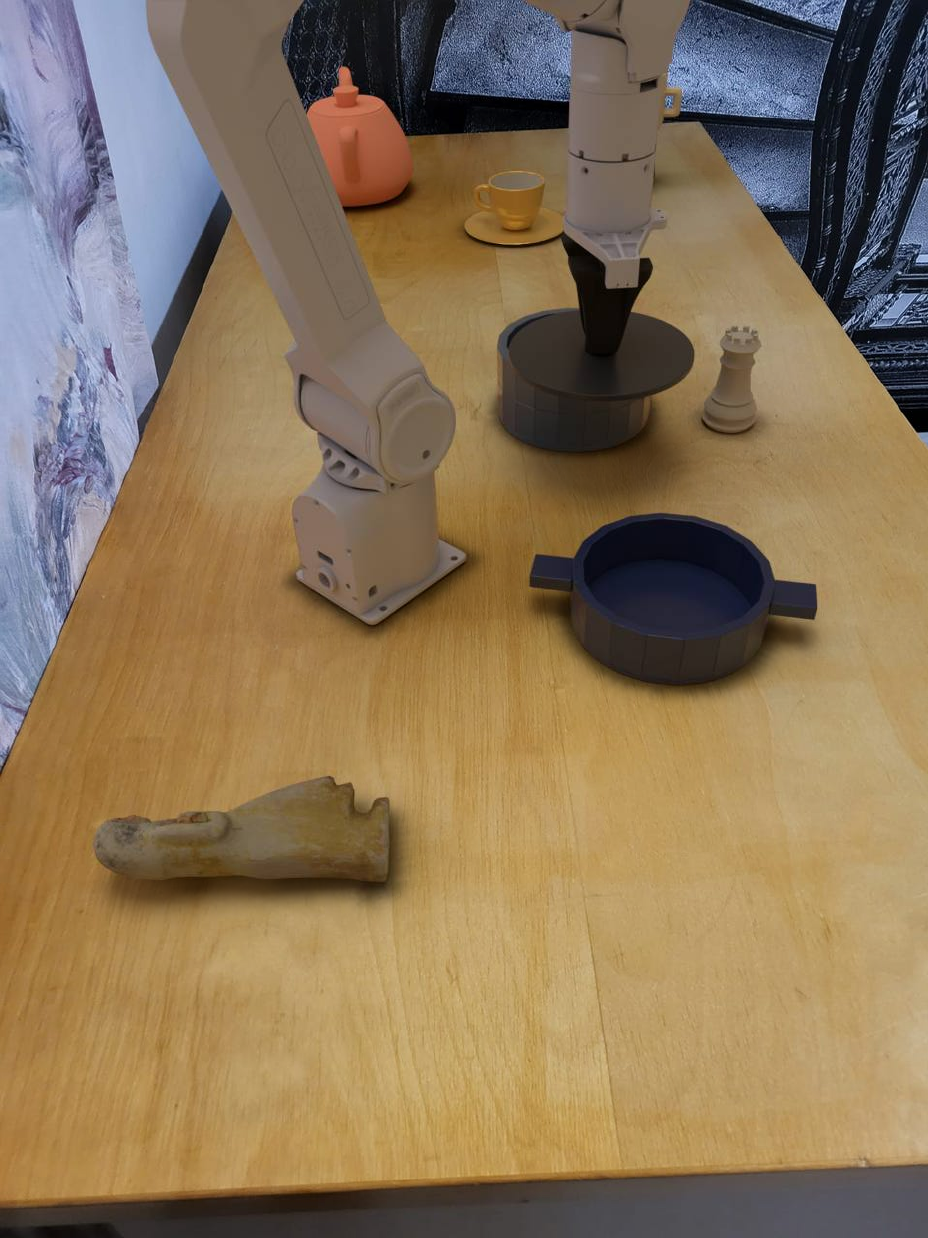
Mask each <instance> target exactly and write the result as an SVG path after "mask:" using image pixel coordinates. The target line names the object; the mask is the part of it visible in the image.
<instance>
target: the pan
mask: <svg viewBox="0 0 928 1238" xmlns="http://www.w3.org/2000/svg"><path fill="white" fill-rule="evenodd" d="M528 582H529V583H528V585H529V587H530V588H533V589H542V590H551V591H560V592H566V593H567V592H568V593H570V599H569V602H570V604H569V605H570V622H571V625H572V629H573V632H574V635H576V638H577V640H578V641H579V642H580V644H581V645H582V646H583V648H584V649H585V650H586V651H587V652H588V653H589V654H590V655H591V656H592V657H593V658H594V659H596V660H597V661H598V662H600V663H602V664H603V665H605V666H606V667H608V668H609V669H611V670H613V671H615V672H617V673H620V674H622V675H624V676H627V677H630V678H632V679H636V680H639V681H643V682H648V683H654V684H660V685H672V686H682V685H683V686H685V685H686V686H687V685H696V684H702V683H707V682H713V681H715V680H719V679H721V678H723V677H726V676H728V675H730V674H733V673H735V672H736V671H738V670H739V669H741V668H742V667H744V666H745V665H746V664H747V663H749V662H750V661H751V660H752V658H753V657H754V656H755V655H756V654H757V652H758V651H759V648H760V647H761V645H762V642H763V639H764V635H765V631H766V628H767V625H768V620H769V616H774V617H775V616H777V617H783V618H794V619H802V620H811V621H815V620H816V616H817V613H818V593H817V592H818V591H817V584H816V583H809V582H800V581H791V580H781V579H775V576H774V573H773V569H772V565H771V562H770V560H769V559H768V558H767V557H766V556H765V554H764V553H763V552H762V551H761V550H760V548H758V546H757V545H756V544H755V543H754V542H753V541H752V540H751V539H749V538H748V537H746V536H744V535H742V534H741V533H739V532H738V531H736V530H734V529H733V528H731V527H729V526H728V525H725V524H722V523H719V522H716V521H712V520H709V519H707V518H703V517H699V516H696V515H689V514H678V513H669V512H654V513H653V512H652V513H644V514H635V515H629V516H626V517H624V518H620V519H617V520H615V521H612V522H609V523H607V524H604V525H602V526H601V527H599V528H598V529H597V530H595V531H594V532H593V533H591V534H589V536H587V537H586V538H585V539H583V541H581V544H580V545H579V547H578V549H577V551H576V553H575V554H574V556H573V557H567V556H559V555H558V556H557V555H549V554H541V553H540V554H538V553H536V554H535V555H534V559H533V561H532V566H531V569H530V573H529V581H528Z"/></svg>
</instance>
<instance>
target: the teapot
mask: <svg viewBox="0 0 928 1238" xmlns="http://www.w3.org/2000/svg"><path fill="white" fill-rule="evenodd" d="M332 92H333V96H328V97H325V98H324V97H323V98H321V99H318V100H316V101H315V102H313V103H312V104H311V105H310V106H309V108H308V110H307V112H306V115H307V117H308V120H309V123H310V125H311V128H312V130H313V133H314V135H315V138H316V141H317V143H318V146H319V148H320V151H321V154H322V156H323V159H324V161H325V164H326V166H327V169H328V172H329V174H330V177H331V179H332V182H333V184H334V187H335V190H336V192H337V195H338V197H339V200H340V202H341V205H342V207H362V206H363V207H364V206H371V205H376V204H381V203H385V202H387V201H391V200H393V199H394V198H396V197H398V196H399V195H400V194H402V192H404V189H405V188H406V187H407V185H408V184H409V183H410V181H411V179H412V176H413V173H414V160H413V157H412V152H411V147H410V145H409V141H408V139H407V136H406V134H405V132H404V131H403V129H402V127H401V125H400V124H399V123H400V122H398V119H397V118H396V117H395V115H394V114H393V112H392V111H391V108H390V107H388V105H387V104H386V102H385V101H384V100H382V99H381V98H379V97H377V96H374V95H368V94H359V87H357V86H355V85H354V84H353V79H352V75H351V70H350V68H348V67H347V66H340V68H339V70H338V86H336V87H334V88H333V89H332Z"/></svg>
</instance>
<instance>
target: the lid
mask: <svg viewBox="0 0 928 1238" xmlns="http://www.w3.org/2000/svg"><path fill="white" fill-rule="evenodd" d="M695 358H696V357H695V348H694V344H693V343H692V341H691V340H690V338H689V337H688V336H687V335H686V334H685V333H684V332H683V331H682V330H680V329H679V328H678V327H676V326H674V325H673V324H671V323H668V322H667V321H665V320H662V319H661V318H657V317H655V316H651V315H648V314H644V313H639V312H634V311H631V312H630V315H629V318H628V322H627V325H626V328H625V332H624V335H623V338H622V341H621V344H620V347H619V349H618V351H617V352H616V353H598V354H591V353H590V352H589V348H588V345H587V340H586V335H585V334H584V330H583V327H582V323H581V317H580V311H579V310H575V311H568V312H563V313H558V314H554V315H550V316H547V317H544V318H541V319H539V320H537V321H534V322H532V323H530V324H529V325H527V326H525V327H524V328H523V329H521V330H520V331H519V332H518V333H517V334H516V335H515V336H514V337H513V339H512V341H511V343H510V346H509V362H510V365H511V367H512V369H513V370H514V372H515V373H516V374H517V375H518V376H519V377H520V378H521V379H522V380H524V381H525V382H526V383H528V384H530V385H531V386H533V387H535V388H537V389H540V390H542V391H544V392H547V393H550V394H553V395H557V396H561V397H565V398H570V399H575V400H584V401H598V402H609V401H625V400H632V399H638V398H643V397H647V396H654V395H657V394H661V393H662V392H665V391H667V390H670V389H671V388H673V387H674V386H676V385H678V384H680V383H681V382H682V381H683V380H684V379H685V378H686V377H687V376H688V375H689V374H690V373H691V370H692V369H693V366H694V362H695Z"/></svg>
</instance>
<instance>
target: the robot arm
mask: <svg viewBox="0 0 928 1238" xmlns="http://www.w3.org/2000/svg"><path fill="white" fill-rule="evenodd" d="M521 1H522V2H524V3H527V4H528V5H531V6H532V7H535V8H537V9H538V10H541V11H543V12H545V13H548V14H550V15H551V16H553V17H554V19H555V21H556V23H557V25H558V27H559V28H560V29H561V30H562V31H563V33H569V32H571V40H570V41H571V46H570V76H569V77H570V78H569V80H570V81H569V104H568V105H569V107H568V135H567V136H568V137H567V141H568V142H567V167H566V194H565V195H566V196H565V197H566V198H565V212H564V213H563V215H562V216H563V232H564V233H562V234H561V236H560V239H561V243H562V247H563V249H564V251H565V252H566V256H567V264H568V268H569V272H570V274H571V276H572V279H573V281H574V282H575V283H574V284H575V286H576V293H577V302H578V308H579V311H580V317H581V323H582V327H583V330H584V334H585V335H586V340H587V345H588V348H589V352H590V353H591V354H598V353H616V352H617V351H618V349H619V347H620V344H621V341H622V338H623V335H624V332H625V328H626V325H627V322H628V318H629V315H630V312H632V309H633V307H634V305H635V302H636V300H637V299H638V296H639V295H640V293H641V291H642V290H643V288H644V287H645V285H646V284H647V283H648V281H649V280H650V279H651V276H652V273H653V270H654V265H653V263H652V260H651V258H650V257H640V255H641V253H642V251H643V249H644V248H645V245H646V243H647V241H648V238H649V236H650V234H651V233H652V232H653V231H656V230H665V229H666V228H668V227H667V226H668V219H669V218H668V215H667V213H666V212H665V210H663V209H661V208H652V201H653V188H654V180H653V178H654V166H655V167H656V153H657V145H658V144H657V142H658V133H659V130H658V122H659V110H660V99H661V87H662V76H663V74H665V73H667V71H669V69H670V64H671V63H673V57H674V49H675V48H674V47H675V40H676V38H677V35H678V32H679V29H680V28H681V26H682V24H683V22H684V20H685V17H686V14H687V13H688V10H689V7H690V3H691V0H521ZM304 2H305V0H145V11H146V13H145V14H146V25H147V32H148V34H149V38H150V42H151V44H152V46H153V49H154V52H155V54H156V56H157V59H158V60H159V62H160V65H161V67H162V69H163V70H164V73H165V75H166V77H167V79H168V81H169V83H170V85H171V87H172V89H173V91H174V93H175V95H176V98H177V99H178V102H179V104H180V106H181V108H182V110H183V112H184V114H185V116H186V119H187V120H188V123H189V124H190V126H191V128H192V130H193V133H194V134H195V136H196V139H197V142H198V143H199V145H200V147H201V149H202V151H203V153H204V154H205V157H206V159H207V162H208V163H209V165H210V168H211V170H212V172H213V174H214V176H215V178H216V180H217V183H218V184H219V186H220V188H221V191H222V192H223V194H224V197H225V198H226V199H225V200H226V201H227V203H228V205H229V207H230V209H231V211H232V213H233V215H234V218H235V219H236V221H237V224H238V225H239V228H240V230H241V232H242V234H243V236H244V238H245V240H246V242H247V244H248V247H249V249H250V250H251V252H252V255H253V257H254V259H255V261H256V263H257V265H258V267H259V269H260V271H261V273H262V276H263V277H264V279H265V282H266V283H267V285H268V287H269V290H270V292H271V293H272V295H273V297H274V300H275V302H276V304H277V306H278V308H279V310H280V312H281V314H282V317H283V318H284V320H285V322H286V324H287V327H288V329H289V331H290V333H291V335H292V337H293V341H292V342H291V344H290V345H289V346H288V348H287V349H286V351H285V353H284V358H285V361H286V363H287V364H288V367H289V369H290V372H291V374H292V381H293V403H294V404H293V405H294V408H295V411H296V413H297V416H298V418H299V419H300V421H301V422H302V423H304V425H305V426H307V427H308V428H310V430H313V431H315V432H316V435H317V443H318V449H319V450H320V451H321V457H322V465H321V468H320V470H319V472H318V474H317V475H316V477H315V478H314V480H313V482H312V483H311V484H309V486H308V487H307V488H306V489H305V490H303V491H302V492H301V493H300V494H299V495H297V497H296V498H295V499H294V501H293V502H292V503H293V504H292V508H291V517H292V523H293V524H292V525H293V528H294V535H295V539H296V540H295V541H296V546H297V550H298V551H297V552H298V556H299V563H300V569H299V570H298V571H297V572H296V573H295V575H296V579H297V580H298V581H299V582H301V583H302V584H304V585H306V586H307V587H309V588H310V589H312V590H313V591H315V592H316V593H318V594H320V595H321V596H323V597H324V598H326V599H327V600H329V601H330V602H333V604H335V605H337V606H339V607H340V608H342V609H344V610H345V611H346V612H348V613H350V614H351V615H353V616H355V617H356V618H358V619H360V620H361V621H363V622H364V623H365V624H368V625H370V626H372V625H373V626H374V625H377V624H379V623H381V622H382V621H383V620H385V619H386V618H387V617H389V616H390V615H391V614H393V613H394V612H396V611H397V610H398V609H400V608H401V607H403V606H404V605H406V604H407V603H408V602H410V601H411V600H413V599H414V598H415V597H417V596H418V595H419V594H421V593H422V592H424V591H425V590H427V589H428V588H430V587H431V586H432V585H434V584H435V583H437V582H438V581H439V580H441V579H442V578H444V577H445V576H446V575H448V574H449V573H451V572H452V571H453V570H455V569H456V568H458V567H459V566H460V565H462V564H464V563H465V562H466V561H467V554H466V553H465V552H464V551H462V550H460V549H459V548H457V547H455V546H453V545H451V544H450V543H447V542H445V541H444V540H442V539H440V535H439V534H440V533H439V519H438V505H437V504H438V503H437V502H438V501H437V489H436V487H437V485H436V472H435V471H437V470H438V469H440V466H441V463H442V462H443V460H444V459H445V458H446V456H447V454H448V452H449V450H450V449H451V446H452V443H453V441H454V438H455V434H456V427H457V416H456V410H455V409H456V408H455V406H454V403H453V401H452V400H451V398H450V396H448V395H447V393H446V392H444V391H443V390H441V389H440V388H438V387H437V386H436V385H434V383H432V381H431V380H430V377H429V375H428V373H427V370H426V368H425V366H424V363H423V362H422V360H421V359H420V358H419V357H418V356H417V354H416V353H415V352H414V351H413V349H411V347H410V346H409V345H408V344H407V343H406V342H405V341H404V340H403V339H402V338H401V336H400V335H399V334H398V333H397V332H396V331H395V330H394V328H393V327H392V326H391V325H390V324H389V322H388V321H387V318H386V316H385V313H384V310H383V308H382V305H381V303H380V301H379V298H378V296H377V293H376V290H375V288H374V284H373V282H372V281H371V278H370V275H369V272H368V270H367V267H366V264H365V262H364V259H363V256H362V254H361V251H360V249H359V247H358V244H357V241H356V239H355V236H354V233H353V231H352V229H351V226H350V224H349V221H348V218H347V216H346V213H345V210H344V208H343V206H342V205H341V202H340V200H339V197H338V195H337V192H336V190H335V187H334V184H333V182H332V179H331V177H330V174H329V172H328V169H327V166H326V164H325V161H324V159H323V156H322V154H321V151H320V148H319V146H318V143H317V141H316V138H315V135H314V133H313V130H312V128H311V125H310V123H309V120H308V117H307V115H306V114H307V112H306V110H305V107H304V104H303V102H302V99H301V96H300V94H299V92H298V89H297V87H296V84H295V82H294V78H293V77H292V74H291V71H290V68H289V66H288V64H287V61H286V58H285V55H284V53H283V49H282V44H283V40H284V37H285V35H286V32H287V29H288V27H289V24H290V21H291V20H292V18H293V17H294V15H295V14H296V13H297V11H298V10H299V8H301V6H302V4H303V3H304ZM667 74H668V73H667ZM654 179H655V178H654Z"/></svg>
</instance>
